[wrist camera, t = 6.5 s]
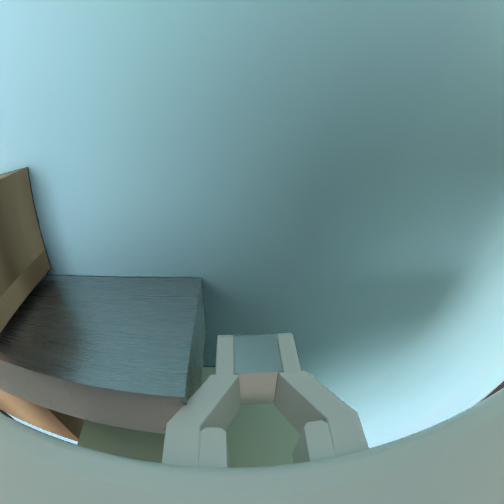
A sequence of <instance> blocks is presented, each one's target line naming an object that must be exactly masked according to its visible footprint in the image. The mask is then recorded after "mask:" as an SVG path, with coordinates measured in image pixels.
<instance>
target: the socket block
mask: <svg viewBox="0 0 504 504" xmlns="http://www.w3.org/2000/svg"><path fill="white" fill-rule="evenodd" d="M50 269H51V266H50V263H49V260H48V257H47V254H46V250H45V247H44V244H43V240H42V236H41V233H40V229H39V225H38V221H37V217H36V212H35V208H34V203H33V198H32V193H31V187H30V181H29V175H28V168H27V167H26V168H22V169H18V170H15V171H11V172H8V173H4V174H1V175H0V333H1V331H2V330H3V328H4V327H5V326H6V324H7V323H8V321H9V320H10V319H11V317H12V316H13V314H14V313H15V312H16V310H17V309H18V308H19V306H20V305H21V304H22V303H23V301H24V300H25V299H26V297H27V296H28V295H29V294H30V292H31V291H32V290H33V289H34V288H35V286H36V285H37V284H38V283H39V282H40V280H41V279H42V278H43V277H44V276H45V275H46V273H47V272H48V271H49V270H50ZM0 409H1V410H3V411H4V412H6V413H8V414H10V415H12V416H14V417H17V418H19V419H21V420H23V421H25V422H27V423H30V424H32V425H34V426H37V427H39V428H42V429H44V430H47V431H49V432H52V433H55V434H57V435H60V436H63V437H66V438H69V439H72V440H75V441H79V437H80V433H81V430H82V426H83V423H84V420H85V419H81V418H77V417H74V416H70V415H67V414H63V413H60V412H57V411H54V410H51V409H48V408H45V407H42V406H40V405H37V404H34V403H32V402H29V401H26V400H24V399H22V398H19V397H17V396H14V395H12V394H10V393H8V392H5V391H3V390H1V389H0Z"/></svg>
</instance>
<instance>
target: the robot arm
mask: <svg viewBox="0 0 504 504" xmlns="http://www.w3.org/2000/svg"><path fill="white" fill-rule="evenodd" d="M252 404H274V406H275V407H276V408H277V409H278V410H279V411H280V413H281V414H282V415H283V416H284V417H285V418H286V420H287V421H288V422H289V423H290V424H291V425H292V426H293V428H294V429H295V430H296V431H297V432H298V433H299V434H300V437H299V439H298V442H297V444H296V446H295V448H294V450H293V453H292V458H293V464H284V465H274V466H261V467H232V468H231V461H230V453H229V447H228V441H227V435H226V431H225V430H226V428H227V427H228V425H229V424H230V422H231V421H232V419H233V418H234V416H235V415H236V413H237V411H238V410H239V408H240V407H241V405H252ZM0 504H504V388H503V389H501V390H500V391H498V392H496V393H495V394H493V395H492V396H490V397H488V398H487V399H485V400H483V401H482V402H480V403H478V404H476V405H474V406H473V407H471V408H469V409H467V410H465V411H463V412H461V413H459V414H457V415H455V416H453V417H451V418H449V419H447V420H445V421H443V422H441V423H438V424H436V425H434V426H432V427H429V428H427V429H424V430H422V431H419V432H417V433H414V434H412V435H409V436H406V437H403V438H401V439H398V440H395V441H392V442H389V443H386V444H382V445H379V446H376V447H372V448H369V447H368V444H367V441H366V438H365V435H364V432H363V428H362V425H361V422H360V419H359V416H358V413H357V412H356V411H355V410H353V409H352V408H351V407H350V406H348V405H347V404H346V403H345V402H343V401H342V400H341V399H340V398H339V397H337V396H336V395H335V394H334V393H332V392H331V391H330V390H329V389H328V388H326V387H325V386H324V385H323V384H322V383H320V382H319V381H318V380H317V379H316V378H315V377H313V376H312V375H311V374H310V373H309V372H308V371H306V370H303V371H302V370H301V366H300V362H299V358H298V354H297V350H296V346H295V342H294V337H293V334H292V333H276V334H256V335H234V337H233V335H218V337H217V348H216V372H215V375H210V376H209V377H208V378H207V379H206V381H205V382H204V383H203V384H202V385H201V386H200V387H199V389H198V390H197V391H196V392H195V393H194V394H193V395H192V396H191V398H190V399H189V400H188V402H187V405H183V406H182V408H181V409H180V410H179V411H178V412H177V413H176V414H175V415H174V416H173V417H172V419H171V420H170V421H169V422H168V423H167V426H166V433H165V441H164V449H163V458H162V463H156V462H149V461H143V460H137V459H131V458H126V457H122V456H117V455H112V454H108V453H104V452H100V451H96V450H93V449H89V448H86V447H82V446H79V445H76V444H73V443H70V442H67V441H64V440H61V439H58V438H55V437H53V436H50V435H48V434H45V433H43V432H40V431H38V430H35V429H33V428H31V427H28V426H26V425H24V424H22V423H20V422H18V421H16V420H14V419H12V418H10V417H8V416H6V415H4V414H2V413H0Z"/></svg>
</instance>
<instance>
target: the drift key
mask: <svg viewBox="0 0 504 504" xmlns="http://www.w3.org/2000/svg"><path fill="white" fill-rule="evenodd" d="M205 334H206V322H205V313H204V303H203V293H202V282H201V278H139V277H94V276H64V275H45V276H44V277H43V278H42V279H41V280H40V282H39V283H38V284H37V285H36V286H35V288H34V289H33V290H32V291H31V292H30V294H29V295H28V296H27V297H26V299H25V300H24V301H23V303H22V304H21V305H20V306H19V308H18V309H17V310H16V312H15V313H14V314H13V316H12V317H11V319H10V320H9V321H8V323H7V324H6V326H5V327H4V328H3V330H2V331H1V333H0V389H1V390H3V391H5V392H8V393H10V394H12V395H14V396H17V397H19V398H22V399H24V400H26V401H29V402H32V403H34V404H37V405H40V406H42V407H45V408H48V409H51V410H54V411H57V412H60V413H63V414H67V415H70V416H74V417H77V418H81V419H85V420H89V421H93V422H97V423H101V424H106V425H110V426H115V427H120V428H126V429H132V430H138V431H145V432H152V433H160V434H165V433H166V426H167V423H168V422H169V421H170V420H171V419H172V417H173V416H174V415H175V414H176V413H177V412H178V411H179V410H180V409H181V408H182V406H183V405H187V402H188V400H189V399H190V398H191V396H192V395H193V394H194V393H195V392H196V391H197V390H198V389H199V387H200V386H201V383H202V369H203V357H204V345H205Z"/></svg>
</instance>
